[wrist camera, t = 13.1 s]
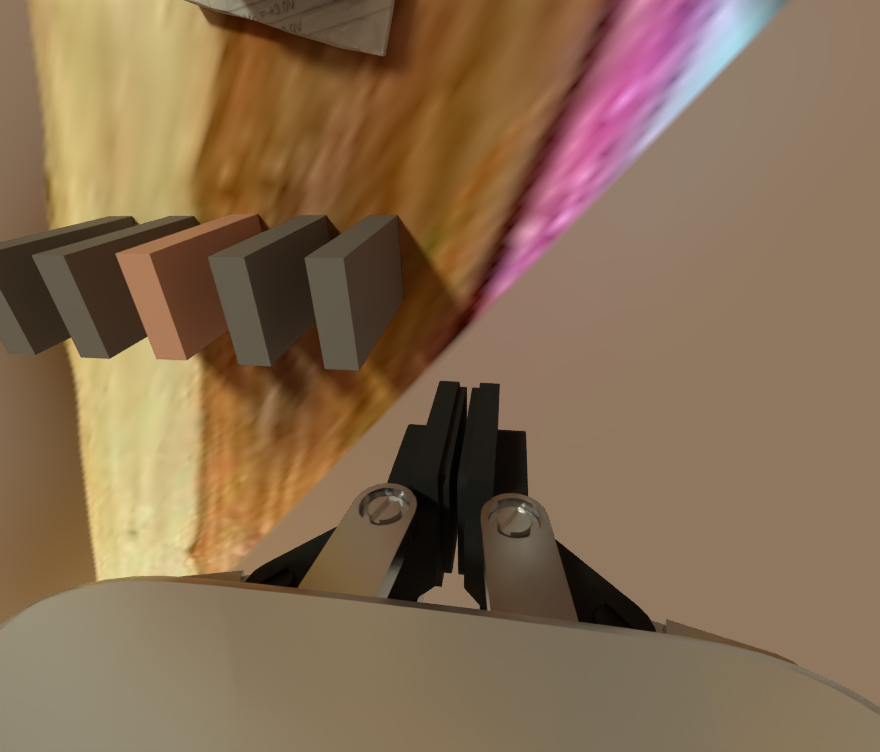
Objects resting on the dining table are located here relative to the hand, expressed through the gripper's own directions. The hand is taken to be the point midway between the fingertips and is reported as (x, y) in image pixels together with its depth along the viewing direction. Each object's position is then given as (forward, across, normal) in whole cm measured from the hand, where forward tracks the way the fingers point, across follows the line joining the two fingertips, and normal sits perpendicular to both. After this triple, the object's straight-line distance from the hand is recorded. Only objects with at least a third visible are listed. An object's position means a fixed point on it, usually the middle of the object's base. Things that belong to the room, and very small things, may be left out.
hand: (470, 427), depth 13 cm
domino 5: (+15, +6, -1) cm, 17 cm away
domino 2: (+15, +19, -1) cm, 24 cm away
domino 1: (+15, +23, -1) cm, 28 cm away
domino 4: (+15, +10, -1) cm, 19 cm away
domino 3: (+15, +15, -1) cm, 21 cm away
